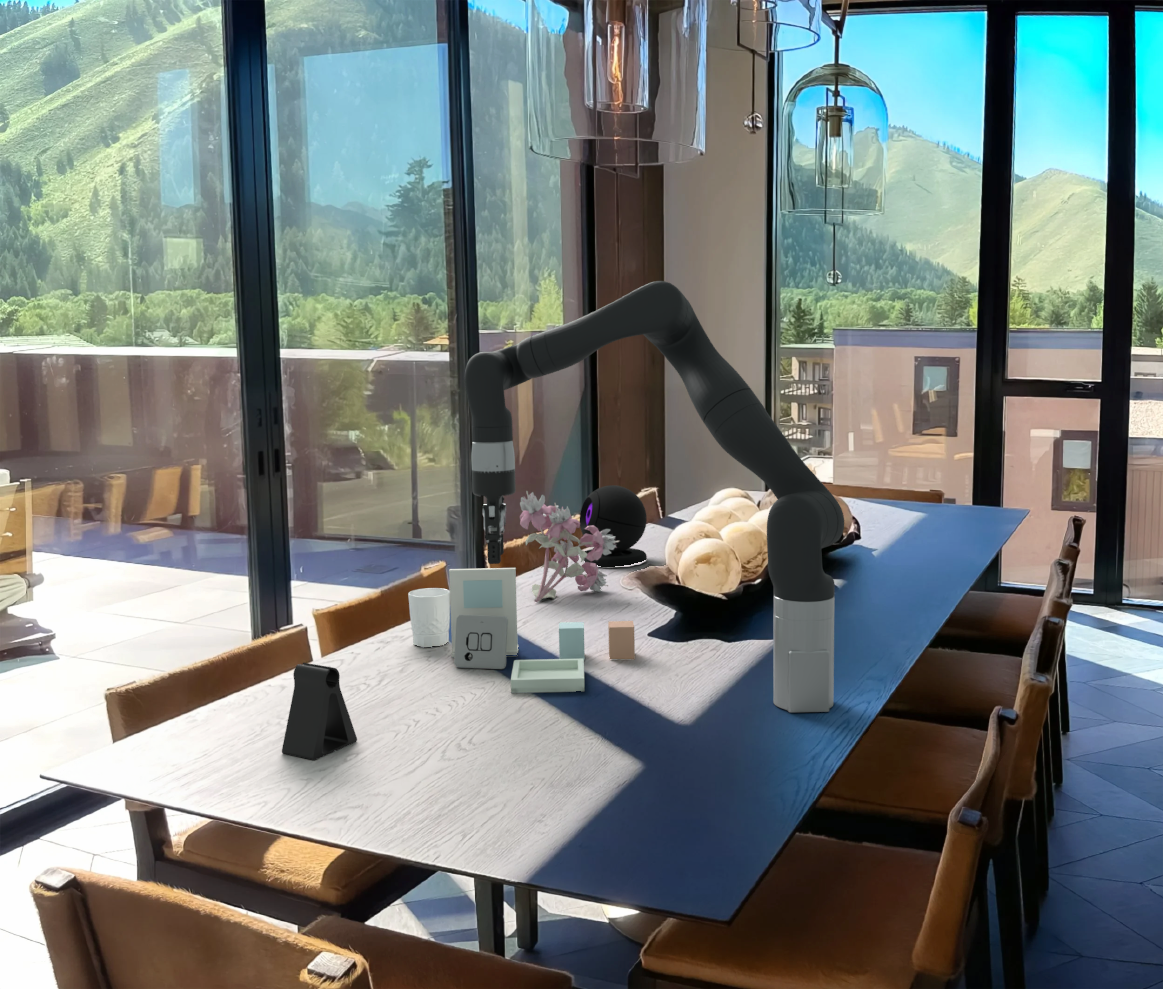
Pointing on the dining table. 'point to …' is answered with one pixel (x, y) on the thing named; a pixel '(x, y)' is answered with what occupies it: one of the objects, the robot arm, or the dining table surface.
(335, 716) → the black triangular stand
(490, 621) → the electrical switch
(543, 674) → the tray
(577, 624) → the blue block
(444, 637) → the white cup
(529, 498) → the flower
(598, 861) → the dining table surface
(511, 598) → the placard
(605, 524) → the webcam
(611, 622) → the terracotta block
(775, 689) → the robot arm
